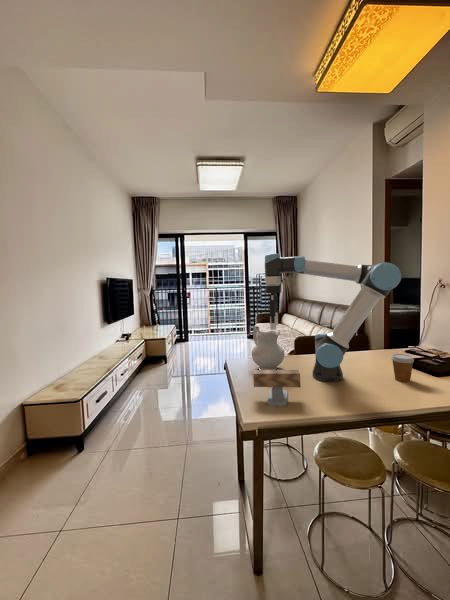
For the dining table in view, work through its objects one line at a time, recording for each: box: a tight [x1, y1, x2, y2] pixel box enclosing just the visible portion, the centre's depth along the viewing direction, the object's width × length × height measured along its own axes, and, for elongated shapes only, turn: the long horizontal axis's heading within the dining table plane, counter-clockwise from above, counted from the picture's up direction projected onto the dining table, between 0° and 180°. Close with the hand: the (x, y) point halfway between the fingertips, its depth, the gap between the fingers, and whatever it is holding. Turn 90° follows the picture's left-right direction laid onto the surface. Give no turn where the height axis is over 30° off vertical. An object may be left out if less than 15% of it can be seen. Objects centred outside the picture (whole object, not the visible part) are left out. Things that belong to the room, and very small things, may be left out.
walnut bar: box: [252, 369, 301, 388], centre depth 118 cm, size 20×5×6 cm, turn 83°
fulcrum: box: [266, 387, 288, 408], centre depth 118 cm, size 8×14×6 cm, turn 165°
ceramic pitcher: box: [251, 325, 285, 370], centre depth 159 cm, size 22×20×25 cm
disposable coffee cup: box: [391, 353, 415, 383], centre depth 133 cm, size 10×10×12 cm
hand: (274, 327), depth 135 cm, fingers open, 13 cm apart
